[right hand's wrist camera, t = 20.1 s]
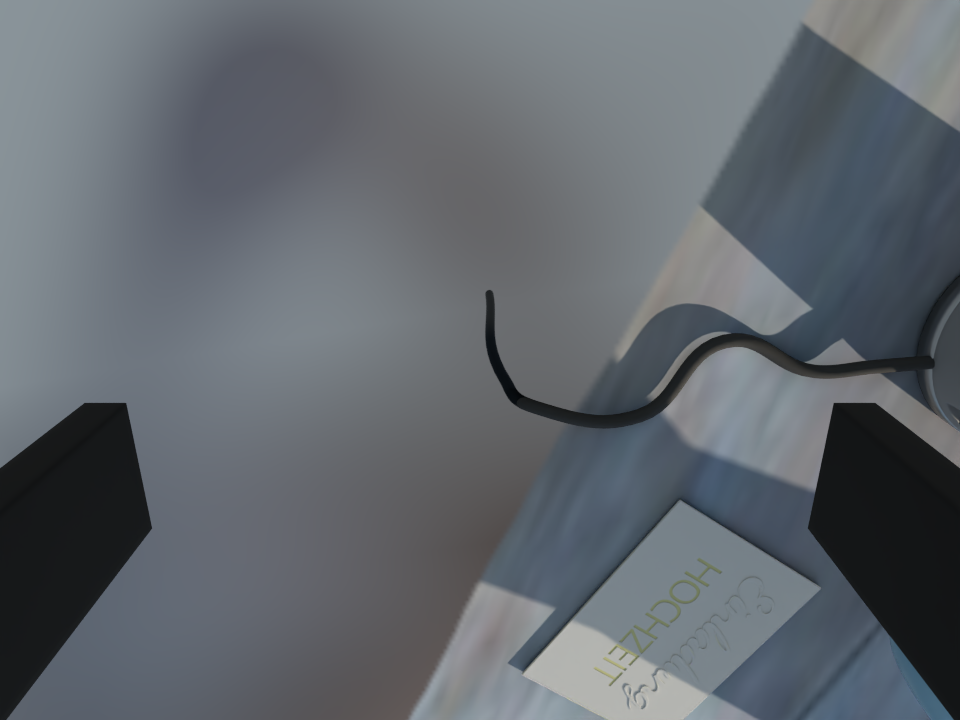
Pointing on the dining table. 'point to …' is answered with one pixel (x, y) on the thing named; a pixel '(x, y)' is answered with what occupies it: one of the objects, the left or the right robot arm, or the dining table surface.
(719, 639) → the invitation card
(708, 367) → the dining table surface
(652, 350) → the dining table surface
